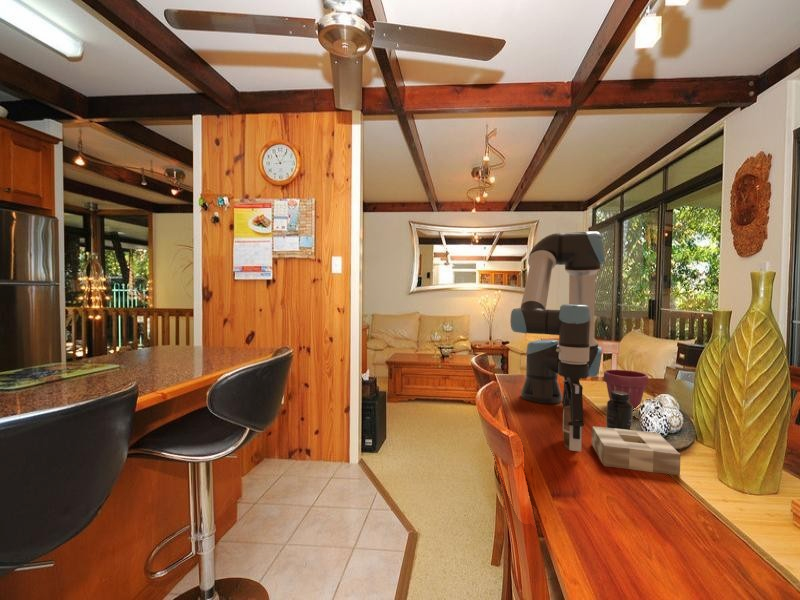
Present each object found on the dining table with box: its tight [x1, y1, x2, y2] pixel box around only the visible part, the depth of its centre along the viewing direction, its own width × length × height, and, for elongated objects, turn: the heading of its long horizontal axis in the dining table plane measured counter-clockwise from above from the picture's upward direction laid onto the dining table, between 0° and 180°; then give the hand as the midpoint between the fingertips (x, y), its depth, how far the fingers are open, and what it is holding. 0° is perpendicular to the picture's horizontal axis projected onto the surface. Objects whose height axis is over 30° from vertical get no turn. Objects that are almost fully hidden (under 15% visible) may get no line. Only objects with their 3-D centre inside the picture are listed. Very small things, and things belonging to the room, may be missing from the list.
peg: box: [562, 406, 579, 452], centre depth 103 cm, size 4×4×11 cm
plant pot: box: [603, 369, 649, 409], centre depth 141 cm, size 14×14×13 cm
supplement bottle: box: [605, 391, 634, 430], centre depth 116 cm, size 7×7×12 cm
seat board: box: [591, 426, 681, 476], centre depth 97 cm, size 14×16×5 cm
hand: (571, 441), depth 103 cm, fingers open, 12 cm apart
